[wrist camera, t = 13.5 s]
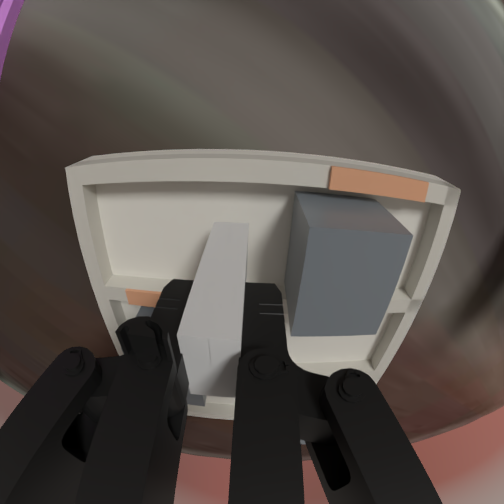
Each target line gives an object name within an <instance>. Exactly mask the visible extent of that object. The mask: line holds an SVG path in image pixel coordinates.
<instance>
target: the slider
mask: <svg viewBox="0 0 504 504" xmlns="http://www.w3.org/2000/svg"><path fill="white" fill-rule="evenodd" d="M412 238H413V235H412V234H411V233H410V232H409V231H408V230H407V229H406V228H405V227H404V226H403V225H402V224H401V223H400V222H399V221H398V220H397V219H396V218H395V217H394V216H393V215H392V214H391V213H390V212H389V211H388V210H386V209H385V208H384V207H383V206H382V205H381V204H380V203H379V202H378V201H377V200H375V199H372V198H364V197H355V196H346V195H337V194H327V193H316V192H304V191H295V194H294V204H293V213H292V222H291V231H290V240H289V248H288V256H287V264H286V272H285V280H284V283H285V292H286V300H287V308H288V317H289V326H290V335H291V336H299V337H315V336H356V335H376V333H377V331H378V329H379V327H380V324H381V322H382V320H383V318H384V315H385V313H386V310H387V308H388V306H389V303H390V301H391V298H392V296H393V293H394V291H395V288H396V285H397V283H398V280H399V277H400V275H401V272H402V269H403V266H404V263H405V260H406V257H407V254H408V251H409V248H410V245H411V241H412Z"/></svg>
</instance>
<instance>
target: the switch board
mask: <svg viewBox="0 0 504 504" xmlns="http://www.w3.org/2000/svg"><path fill="white" fill-rule="evenodd" d="M65 168H66V176H67V183H68V189H69V195H70V201H71V207H72V212H73V217H74V221H75V226H76V230H77V235H78V239H79V243H80V247H81V251H82V254H83V258H84V262H85V265H86V269H87V272H88V275H89V278H90V282H91V285H92V288H93V291H94V294H95V297H96V300H97V302H98V305H99V308H100V311H101V313H102V316H103V319H104V321H105V324H106V326H107V329H108V331H109V334H110V336H111V338H112V341H113V343H114V345H115V348H116V350H117V352H118V354H119V356H121V355H124V354H123V352H122V350H121V345H120V343H119V340H118V338H117V335H116V333H115V331H116V330H117V329H118V327H119V326H120V325H121V324H122V323H124V322H125V321H127V320H128V319H132V318H135V317H136V315H137V313H138V311H139V309H140V307H141V306H147V307H156V304H157V301H158V299H159V297H160V295H161V292H162V290H163V288H164V287H165V286H166V285H167V284H168V283H169V282H170V281H172V280H173V279H182V280H194V279H195V276H196V273H197V270H198V267H199V264H200V261H201V258H202V255H203V252H204V249H205V246H206V243H207V241H208V238H209V235H210V232H211V229H212V227H213V224H214V222H234V223H249V234H248V258H247V281H246V282H252V283H275V285H276V286H277V287H278V289H279V290H280V291H281V293H282V301H283V310H284V319H285V329H286V338H287V348H288V353H289V356H290V357H291V359H292V361H293V362H294V363H295V364H296V365H297V366H299V367H301V368H302V369H304V370H306V371H309V372H312V373H316V374H320V375H324V376H329V377H330V375H331V374H332V373H334V372H336V371H338V370H340V369H346V368H353V369H357V370H361V371H363V372H364V373H366V374H368V375H369V376H370V377H371V378H372V379H373V380H374V382H375V383H376V384H377V382H378V381H379V379H380V378H381V376H382V375H383V373H384V372H385V370H386V368H387V367H388V365H389V364H390V362H391V360H392V359H393V357H394V355H395V353H396V352H397V350H398V348H399V346H400V345H401V343H402V341H403V339H404V337H405V336H406V334H407V332H408V330H409V328H410V326H411V324H412V322H413V320H414V318H415V316H416V314H417V312H418V310H419V308H420V306H421V304H422V301H423V299H424V297H425V295H426V293H427V290H428V288H429V286H430V283H431V281H432V279H433V276H434V274H435V271H436V269H437V266H438V263H439V261H440V258H441V255H442V253H443V250H444V247H445V244H446V241H447V238H448V235H449V232H450V229H451V225H452V222H453V219H454V215H455V212H456V208H457V204H458V200H459V196H460V192H461V190H460V189H459V188H457V187H455V186H453V185H452V184H450V183H448V182H446V181H444V180H442V179H440V178H439V177H437V176H435V175H430V174H426V173H422V172H417V171H413V170H408V169H404V168H399V167H394V166H388V165H383V164H377V163H371V162H365V161H359V160H352V159H345V158H338V157H330V156H322V155H313V154H302V153H291V152H278V151H262V150H238V149H179V150H155V151H140V152H127V153H116V154H107V155H98V156H92V157H89V158H87V159H84V160H82V161H79V162H77V163H75V164H72V165H70V166H68V167H65ZM295 191H304V192H316V193H327V194H337V195H346V196H355V197H364V198H372V199H375V200H377V201H378V202H379V203H380V204H381V205H382V206H383V207H384V208H385V209H386V210H388V211H389V212H390V213H391V214H392V215H393V216H394V217H395V218H396V219H397V220H398V221H399V222H400V223H401V224H402V225H403V226H404V227H405V228H406V229H407V230H408V231H409V232H410V233H411V234H412V235H413V238H412V241H411V245H410V248H409V251H408V254H407V257H406V260H405V263H404V266H403V269H402V272H401V275H400V277H399V280H398V283H397V285H396V288H395V291H394V293H393V296H392V298H391V301H390V303H389V306H388V308H387V310H386V313H385V315H384V318H383V320H382V322H381V324H380V327H379V329H378V331H377V333H376V335H356V336H315V337H299V336H291V335H290V326H289V317H288V308H287V300H286V292H285V283H284V280H285V272H286V264H287V256H288V248H289V240H290V231H291V222H292V213H293V204H294V194H295ZM234 409H235V398H231V397H217V396H206V403H205V406H197V405H189V404H188V413H187V415H189V416H197V417H206V418H215V419H227V420H234Z"/></svg>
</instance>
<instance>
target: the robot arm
mask: <svg viewBox="0 0 504 504" xmlns="http://www.w3.org/2000/svg"><path fill="white" fill-rule="evenodd" d="M248 234H249V223H234V222H214V224H213V227H212V229H211V232H210V235H209V238H208V241H207V243H206V246H205V249H204V252H203V255H202V258H201V261H200V264H199V267H198V270H197V273H196V276H195V279H194V280H182V279H173V280H172V281H170V282H169V283H168V284H167V285H166V286H165V287H164V288H163V290H162V292H161V295H160V297H159V299H158V301H157V304H156V307H155V308H154V310H153V313H152V315H151V317H149V316H138V317H135V318H132V319H128V320H127V321H125V322H124V323H122V324H121V325H120V326H119V327H118V329H117V330H116V331H115V333H116V335H117V338H118V340H119V343H120V345H121V347H122V350H123V352H124V355H121V356H116V357H106V358H95V357H94V355H93V353H92V352H91V351H89V350H88V349H87V348H83V347H71V348H69V349H66V350H64V351H63V352H62V353H61V354H60V355H58V357H57V358H56V359H55V360H54V361H53V362H52V363H51V365H50V366H49V367H48V368H47V369H46V371H45V372H44V373H43V374H42V375H41V376H40V378H39V379H38V380H37V381H36V383H35V384H34V385H33V386H32V388H31V389H30V390H29V391H28V393H27V394H26V395H25V396H24V398H23V399H22V400H21V402H20V403H19V404H18V405H17V407H16V408H15V409H14V411H13V412H12V413H11V415H10V416H9V417H8V419H7V420H6V422H5V423H4V425H3V426H2V427H1V429H0V504H173V503H174V495H175V488H176V481H177V474H178V468H179V461H180V455H181V448H182V442H183V436H184V430H185V424H186V418H187V413H188V403H187V400H186V397H187V392H188V387H189V390H190V393H191V394H197V395H206V396H217V397H231V398H235V409H234V423H233V438H232V453H231V469H230V485H229V501H228V504H304V486H303V470H302V455H301V442H300V440H304V441H305V443H306V446H307V448H308V451H309V454H310V456H311V459H312V461H313V464H314V467H315V469H316V472H317V474H318V477H319V479H320V482H321V484H322V487H323V489H324V492H325V494H326V497H327V500H328V502H329V504H442V502H441V500H440V498H439V496H438V494H437V492H436V490H435V488H434V486H433V484H432V482H431V480H430V478H429V476H428V475H427V473H426V471H425V469H424V467H423V465H422V463H421V461H420V460H419V458H418V456H417V454H416V452H415V451H414V449H413V447H412V445H411V443H410V442H409V440H408V438H407V436H406V434H405V433H404V431H403V429H402V427H401V426H400V424H399V422H398V420H397V419H396V417H395V415H394V413H393V412H392V410H391V408H390V407H389V405H388V403H387V402H386V400H385V398H384V396H383V395H382V393H381V391H380V390H379V388H378V386H377V385H376V383H375V382H374V380H373V379H372V378H371V377H370V376H369V375H368V374H366V373H364V372H363V371H361V370H357V369H353V368H346V369H340V370H338V371H336V372H334V373H332V374H331V375H330V377H329V376H324V375H320V374H316V373H312V372H309V371H306V370H304V369H302V368H301V367H299V366H297V365H296V364H295V363H294V362H293V361H292V359H291V357H290V356H289V353H288V348H287V338H286V329H285V319H284V310H283V301H282V293H281V291H280V290H279V289H278V287H277V286H276V285H275V283H252V282H246V281H247V258H248Z"/></svg>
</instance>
